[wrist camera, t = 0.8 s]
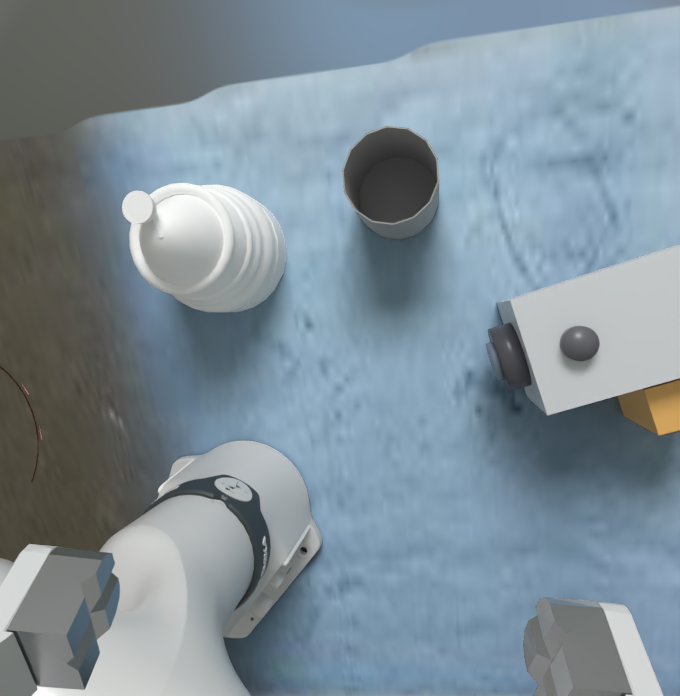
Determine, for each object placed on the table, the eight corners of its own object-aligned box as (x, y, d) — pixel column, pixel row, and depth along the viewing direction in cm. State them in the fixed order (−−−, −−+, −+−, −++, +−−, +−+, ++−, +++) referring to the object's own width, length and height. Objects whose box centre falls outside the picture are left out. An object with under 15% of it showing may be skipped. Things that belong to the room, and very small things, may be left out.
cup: (441, 235, 58) (441, 219, 48) (361, 243, 60) (346, 229, 50) (435, 152, 58) (435, 119, 48) (355, 162, 59) (339, 132, 49)
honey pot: (157, 226, 63) (48, 191, 46) (257, 174, 61) (184, 116, 43) (203, 331, 63) (111, 337, 45) (305, 282, 61) (251, 270, 43)
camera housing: (692, 350, 55) (762, 360, 43) (502, 405, 58) (518, 428, 46) (659, 250, 55) (720, 232, 43) (471, 311, 58) (479, 310, 46)
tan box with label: (683, 405, 55) (730, 422, 46) (625, 421, 56) (660, 441, 47) (669, 361, 55) (713, 370, 46) (611, 378, 56) (644, 390, 47)
